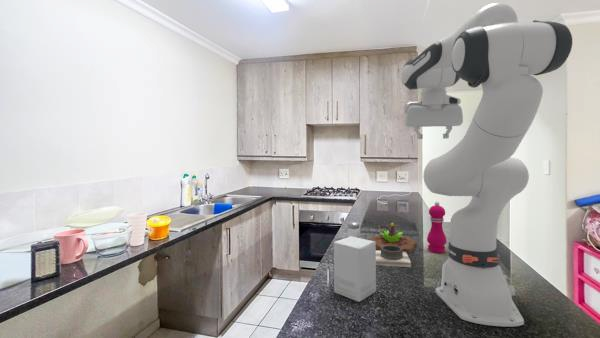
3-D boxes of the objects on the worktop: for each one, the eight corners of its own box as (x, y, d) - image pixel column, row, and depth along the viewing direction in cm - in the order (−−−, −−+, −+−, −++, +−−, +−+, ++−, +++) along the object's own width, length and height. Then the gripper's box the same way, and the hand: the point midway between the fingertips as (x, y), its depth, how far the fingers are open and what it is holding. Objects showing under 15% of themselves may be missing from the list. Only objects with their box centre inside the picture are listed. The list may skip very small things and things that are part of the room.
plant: (365, 251, 124) (365, 224, 123) (370, 238, 142) (370, 215, 142) (417, 256, 118) (418, 228, 117) (415, 242, 136) (416, 217, 135)
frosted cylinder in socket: (359, 253, 121) (359, 223, 120) (347, 253, 122) (347, 223, 121) (359, 249, 125) (359, 221, 125) (348, 249, 126) (348, 220, 125)
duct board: (411, 267, 106) (411, 254, 106) (375, 265, 108) (375, 252, 108) (405, 255, 118) (406, 244, 117) (374, 254, 120) (374, 242, 120)
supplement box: (377, 292, 88) (377, 241, 87) (359, 303, 82) (359, 248, 81) (351, 282, 94) (351, 235, 94) (333, 292, 88) (332, 241, 87)
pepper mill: (448, 254, 119) (449, 203, 118) (429, 253, 120) (429, 203, 119) (443, 248, 126) (444, 200, 125) (425, 247, 127) (425, 200, 126)
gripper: (407, 100, 110) (406, 138, 111) (465, 99, 109) (464, 137, 110) (402, 103, 116) (402, 139, 117) (457, 102, 115) (456, 138, 116)
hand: (432, 138), depth 113 cm, fingers open, 8 cm apart
